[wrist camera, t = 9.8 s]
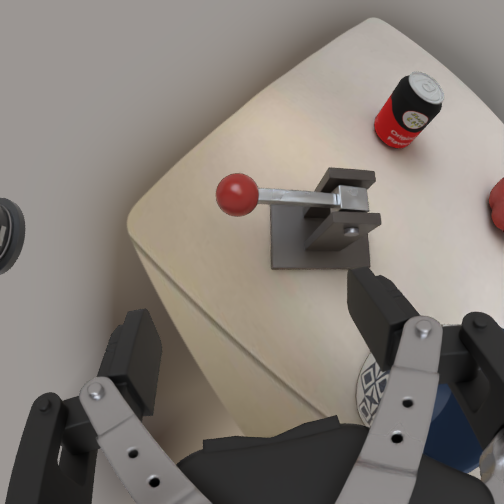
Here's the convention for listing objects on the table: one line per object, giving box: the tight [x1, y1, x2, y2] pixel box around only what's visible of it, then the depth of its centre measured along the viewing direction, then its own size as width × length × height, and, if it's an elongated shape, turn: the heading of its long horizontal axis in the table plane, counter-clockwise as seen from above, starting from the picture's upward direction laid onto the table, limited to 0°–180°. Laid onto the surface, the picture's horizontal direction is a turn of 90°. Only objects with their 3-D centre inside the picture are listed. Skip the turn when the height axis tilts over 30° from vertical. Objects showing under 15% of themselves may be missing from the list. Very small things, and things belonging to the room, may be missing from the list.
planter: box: [356, 325, 504, 473], centre depth 28 cm, size 16×16×14 cm
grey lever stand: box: [270, 168, 381, 269], centre depth 32 cm, size 12×9×13 cm
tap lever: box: [216, 173, 369, 217], centre depth 27 cm, size 13×4×4 cm, turn 90°
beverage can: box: [374, 72, 444, 148], centre depth 36 cm, size 6×6×12 cm
